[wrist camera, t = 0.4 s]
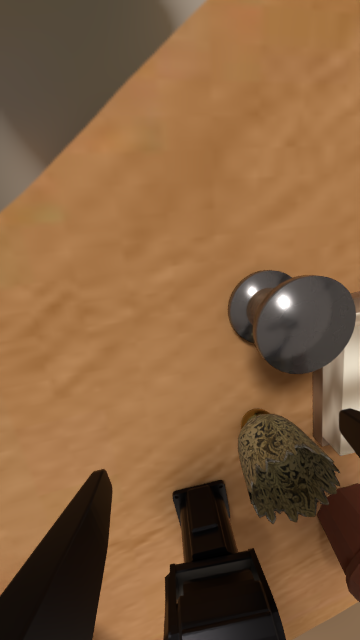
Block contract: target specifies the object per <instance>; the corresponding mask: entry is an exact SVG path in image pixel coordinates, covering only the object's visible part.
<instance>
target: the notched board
mask: <svg viewBox="0 0 360 640" xmlns="http://www.w3.org/2000/svg"><path fill="white" fill-rule="evenodd" d="M351 296H352V298H353V300H354V304H355V308H356V322H355V327H354V331H353V334H352V336H351V338H350V340H349V342H348V344H347V345H346V347H345V348H344V350H343V351H342V352H341V353H340V354H339V355H338V356H337V357H336V358H335V359H334V360H333V361H332V362H330V363H329V364H327V365H326V366H324V367H322V368H320V369H318V370H315V371H313V436H314V438H315V439H316V440H317V441H318V442H319V443H320V445H321V446H326V445H331V446H332V448H333V449H334V450H335V451H336V452H337V453H338V454H339V455H340V456H342V455H346V454H350V453H354V452H355V451H354V450H353V449H352V447H351V446H350V445H349V443H348V442H347V441H346V439H345V438H344V437H343V436H342V434H341V432H340V430H339V412H340V411H341V410H344V409H348V408H351V409H355V410H357V411H360V292H356V293H351Z"/></svg>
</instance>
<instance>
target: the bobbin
mask: <svg viewBox="0 0 360 640" xmlns="http://www.w3.org/2000/svg"><path fill="white" fill-rule="evenodd" d="M228 316H229V320H230V323H231V325H232V327H233V328H234V330H235V331H236V332H237V333H238V334H239V335H240V336H241V337H243V338H244V339H246V340H247V341H250V342H252V343H255V346H256V348H257V350H258V352H259V353H260V355H261V356H262V357H263V358H264V359H265V360H266V361H267V362H268V363H269V364H270V365H272V366H273V367H274V368H276V369H278V370H280V371H282V372H286V373H290V374H303V373H309V372H312V371H315V370H318V369H320V368H322V367H324V366H326V365H327V364H329V363H330V362H332V361H333V360H334V359H335V358H336V357H337V356H338V355H339V354H340V353H341V352H342V351H343V350H344V348H345V347H346V345H347V344H348V342H349V340H350V338H351V336H352V334H353V331H354V327H355V322H356V308H355V304H354V300H353V298H352V296H351V294H350V293H349V291H348V290H347V289H346V288H345V287H344V286H343V285H342V284H341V283H339V282H338V281H336V280H334V279H331V278H328V277H323V276H315V275H303V276H297V277H294V278H292V277H290V276H289V275H287V274H285V273H282V272H279V271H272V270H263V271H258V272H255V273H252V274H250V275H249V276H247V277H245V278H244V279H243V280H242V281H241V282H240V283H239V284H238V285H237V286H236V287H235V289H234V290H233V292H232V294H231V297H230V300H229V304H228Z"/></svg>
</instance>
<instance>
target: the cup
mask: <svg viewBox="0 0 360 640" xmlns="http://www.w3.org/2000/svg"><path fill="white" fill-rule="evenodd" d="M241 429H242V430H241V432H240V435H239V438H238V452H239V458H240V462H241V467H242V470H243V474H244V478H245V482H246V485H247V489H248V493H249V496H250V501H251V504H253V506H254V509H255V511H256V513H257V515H258V516H259V517H260V518H261V517H263V516H264V515H266V517H267V519H268V520H269V521H270V522H271V523H272V524H274V522H275V520H276V516H275V515H276V514H275V513H276V512H278V513H279V514H281V513H283V512H281V511H284V512H285V513H286V514H287V515H288V517H289V519H290V520H291V521H293V522H297V520H298V514H300V515H302V516H305V517H315V515H316V509H317V502H319V501H320V502H321V503H320V504H322V503H323V504H325V505H328V504H329V502H328V499H327V497H326V495H325V493H324V491H326V492H327V493H329V494H336V492H337V491H336V486H335V485H334V484H336V485H337V486H340V484H339V482H338V480H337V478H336V476H335V472H334V471H337V472H338V473H340V472H339V470H338V469H337V467H336V466H335V465H334V464H333V463H334V461H333V460H332V459H331V458H329V457H328V456H327V455H326V454H325V453H324V452H323V451H322V450H321V449H320V448H319V447H318V446H317V445H316V444H315V443H314V442H313V441H312V440H311V439H310V438H309V437H308V436H307V435H306V434H305V433H304V432H303V431H301V430H300V429H299V428H298V427H297V426H296V425H295V424H293V423H292V422H290V421H289V420H288V419H286V418H284V417H282V416H279V415H275V414H270V413H269V412H267V411H265V410H263V409H252V410H250V411H248V412H247V413H246V414H245V415H244V416H243V418H242V421H241ZM317 499H318V500H319V501H318V500H317ZM274 511H276V512H275V513H274ZM280 512H281V513H280Z"/></svg>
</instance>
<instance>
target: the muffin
mask: <svg viewBox="0 0 360 640" xmlns="http://www.w3.org/2000/svg"><path fill="white" fill-rule="evenodd" d="M336 491H337V492H336V494H331V495H330V496H329V497H327V499H328V502H329V504H328V505H325V504H323V503H322V505H321V508H320V510H319V512H318V514H317V516H318V518H319V520H320V522H321V524H322V526H323V528H324V531H325V533H326V535H327V537H328V539H329V541H330V543H331V545H332V548H333V550H334V552H335V554H336V556H337V558H338V560H339V562H340V565H341V567H342V569H343V571H344V573H345V575H346V583H347V586H348V589H349V592H350V593H351V594H352V595H353V596H354V597H355V598H356V599H357V600H358V601H359V602H360V484H358V483H357V484H354V485H351V486H348V487H343V488H338V489H337V490H336Z"/></svg>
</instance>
